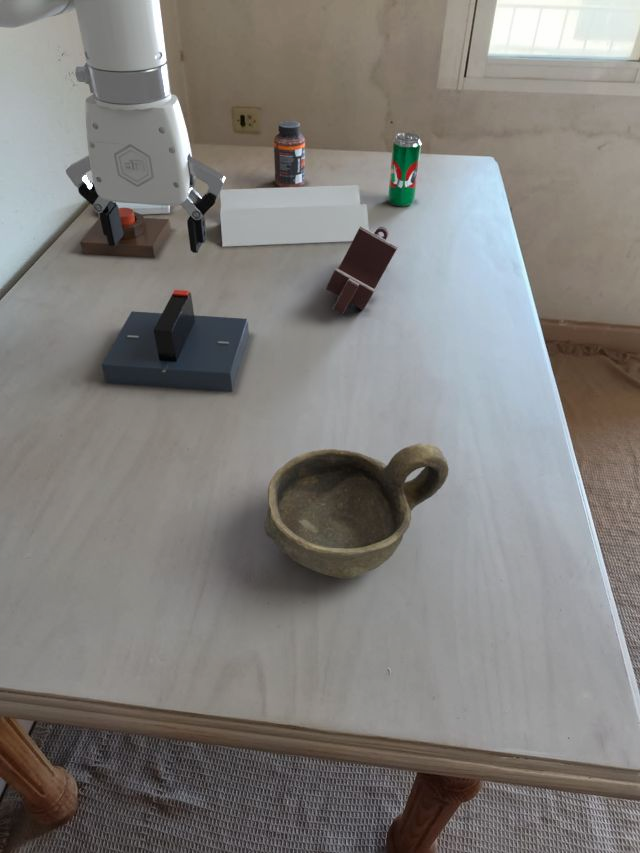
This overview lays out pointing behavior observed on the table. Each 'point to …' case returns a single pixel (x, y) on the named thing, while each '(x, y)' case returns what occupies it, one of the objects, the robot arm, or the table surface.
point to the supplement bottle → (289, 155)
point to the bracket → (361, 269)
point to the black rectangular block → (174, 326)
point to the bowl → (349, 506)
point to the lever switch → (198, 361)
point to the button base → (129, 238)
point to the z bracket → (291, 215)
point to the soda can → (404, 169)
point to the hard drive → (145, 208)
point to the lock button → (126, 216)
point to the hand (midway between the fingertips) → (156, 244)
